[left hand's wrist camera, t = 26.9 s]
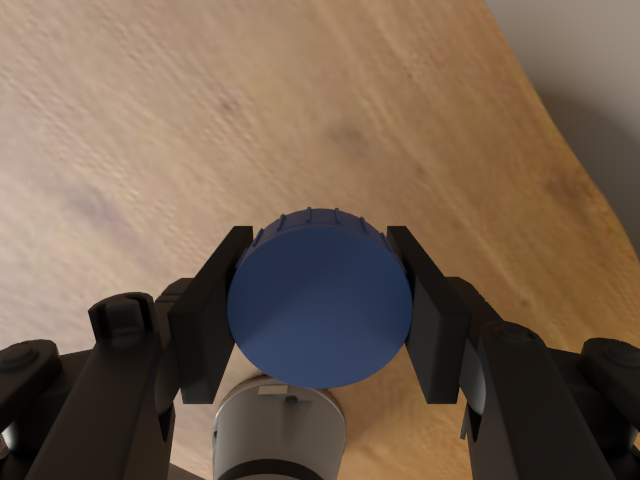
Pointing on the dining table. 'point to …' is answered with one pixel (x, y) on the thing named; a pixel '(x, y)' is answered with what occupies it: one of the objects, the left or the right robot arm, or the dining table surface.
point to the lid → (319, 300)
